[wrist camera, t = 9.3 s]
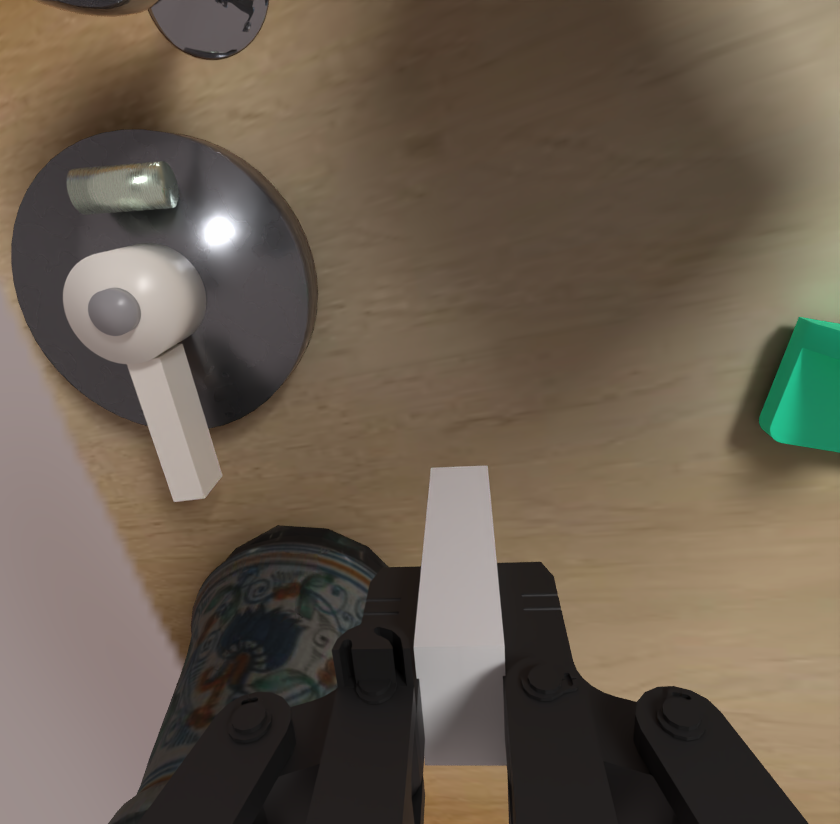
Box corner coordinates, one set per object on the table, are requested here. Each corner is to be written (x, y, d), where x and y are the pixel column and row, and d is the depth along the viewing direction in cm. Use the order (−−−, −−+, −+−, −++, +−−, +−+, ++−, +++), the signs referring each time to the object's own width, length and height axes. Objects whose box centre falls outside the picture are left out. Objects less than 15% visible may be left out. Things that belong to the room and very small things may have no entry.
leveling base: (5, 145, 37) (-66, 141, 32) (295, 119, 35) (268, 111, 30) (86, 419, 44) (37, 451, 39) (334, 407, 42) (317, 439, 37)
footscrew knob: (93, 251, 36) (35, 263, 31) (189, 235, 35) (146, 245, 30) (169, 477, 41) (131, 518, 36) (255, 467, 40) (227, 507, 36)
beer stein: (376, 498, 45) (284, 856, 21) (448, 695, 51) (438, 1132, 28) (174, 546, 47) (-102, 911, 24) (267, 727, 54) (121, 1151, 31)
